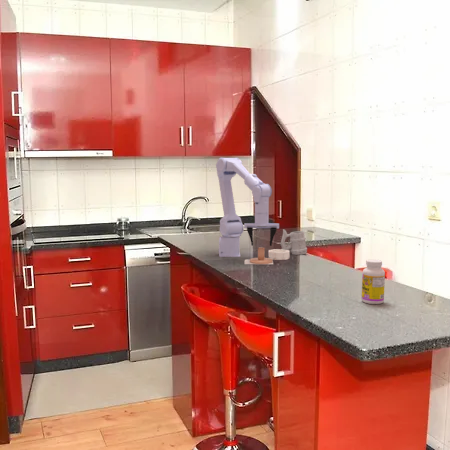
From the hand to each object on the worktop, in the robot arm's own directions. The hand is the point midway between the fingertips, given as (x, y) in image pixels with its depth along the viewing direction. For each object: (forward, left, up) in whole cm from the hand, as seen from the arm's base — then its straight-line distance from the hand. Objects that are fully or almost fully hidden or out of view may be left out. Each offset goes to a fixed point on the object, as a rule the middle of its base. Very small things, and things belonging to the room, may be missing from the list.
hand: (261, 245), depth 232 cm
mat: (-1, 0, -7) cm, 7 cm away
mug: (+16, +22, -8) cm, 28 cm away
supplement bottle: (+33, -62, -8) cm, 71 cm away
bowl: (+8, +10, -7) cm, 15 cm away
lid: (0, 0, -7) cm, 7 cm away
